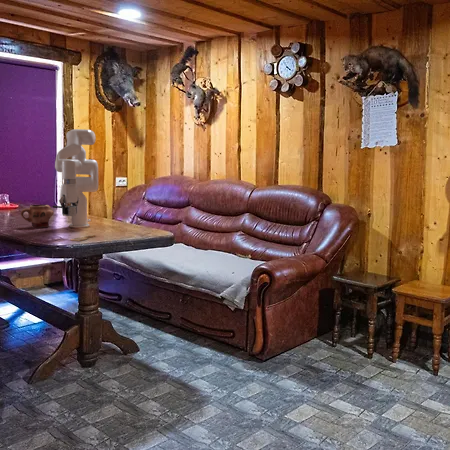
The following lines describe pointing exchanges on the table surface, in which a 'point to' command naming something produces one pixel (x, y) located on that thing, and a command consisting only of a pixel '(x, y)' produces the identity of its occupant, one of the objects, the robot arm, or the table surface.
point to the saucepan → (69, 210)
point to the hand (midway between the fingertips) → (69, 213)
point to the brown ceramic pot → (38, 215)
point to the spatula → (82, 238)
